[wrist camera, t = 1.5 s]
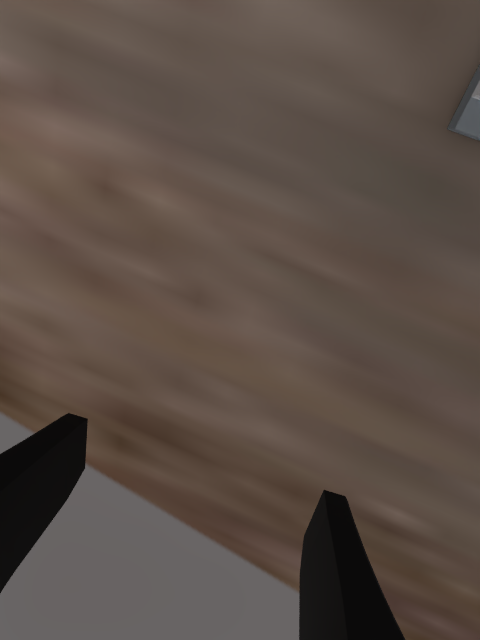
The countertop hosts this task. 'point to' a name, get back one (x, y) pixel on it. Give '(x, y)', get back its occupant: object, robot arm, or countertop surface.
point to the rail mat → (468, 111)
